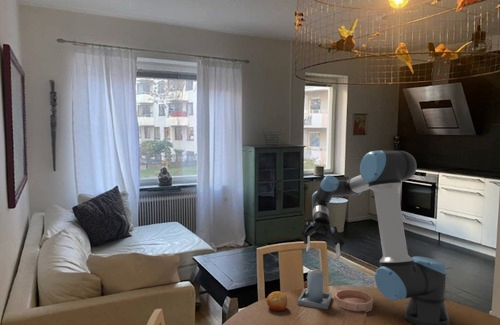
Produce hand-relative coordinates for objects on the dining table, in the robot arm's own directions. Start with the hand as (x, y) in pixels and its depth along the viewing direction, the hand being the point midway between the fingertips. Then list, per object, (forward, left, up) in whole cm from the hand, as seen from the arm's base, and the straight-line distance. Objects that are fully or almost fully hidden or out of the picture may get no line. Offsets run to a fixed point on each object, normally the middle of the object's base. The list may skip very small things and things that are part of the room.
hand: (323, 253), depth 162 cm
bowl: (-13, +2, -19) cm, 23 cm away
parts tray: (+2, +6, -19) cm, 20 cm away
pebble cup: (+2, +6, -19) cm, 20 cm away
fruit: (+15, +18, -20) cm, 31 cm away
